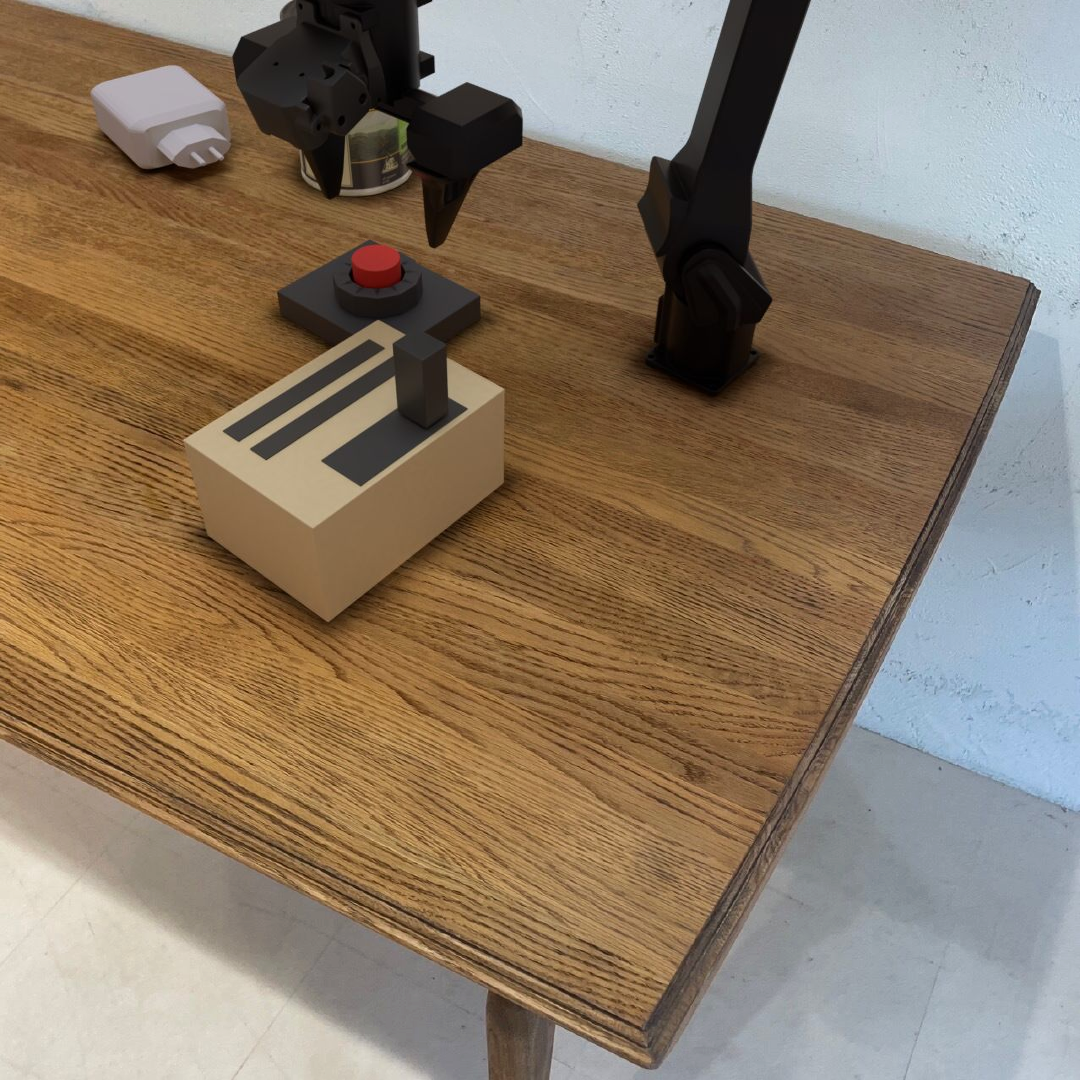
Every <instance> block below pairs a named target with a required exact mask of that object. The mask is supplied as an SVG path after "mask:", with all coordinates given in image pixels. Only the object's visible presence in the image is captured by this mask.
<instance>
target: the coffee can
mask: <svg viewBox="0 0 1080 1080" xmlns="http://www.w3.org/2000/svg"><path fill="white" fill-rule="evenodd" d="M293 15H294V16H297V11H296V0H289V1H288V2H287V3H285V5H284V6H283V7H281V10H280V11H279V21H281V20H283V19H286V18H288V17H291V16H293ZM408 124H409V123H407V122H404V121H402V120H399V119H397V118H395V117H392V116H390V115H387V114H385V113H383V112H380V111H378V110H375V109H370V110H369V112H368V113H367V114H366V115H365V116H364V117H363V118H362V119H361V120H360V121H359V123H358V124H357V125H356V126H355V127H354V128H353V129H352V130H351V131H350V132H349V133H348V134H347V135H346V136H345V154H344V170H343V178H342V184H341V191H340V194H339V195H338V197H339V196H340V197H366V196H367V197H368V196H375V195H379V194H380V195H381V194H383V193H385V192H389V191H392V190H394V189H396V188H398V187H399V186H401V185H403V184H405V182H407V181H408V180H409V178H410V177H411V175H412V174H413V172H412V171H411V170H410V169H408V168H407V167H406V163H408V162H410V161H412V160H413V158H412V157H413V156H412V154H411V152H410V150H409V149H408V147H407V135H406V128H407V126H408ZM298 151H299V159H300V173H301V176H302V178H303V180H304V181H305V183H307V184H308V185H309V186H310V187H312V188H313V189H316V190H318V191H320V192H322V191H321V189H320V187H319V185H318V183H317V180H316V178H315V176H314V174H313V172H312V170H311V168H310V166H309V164H308V162H307V160H306V158H305V155H304V153H303V151H302V150H300V149H298Z"/></svg>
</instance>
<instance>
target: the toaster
mask: <svg viewBox="0 0 1080 1080" xmlns="http://www.w3.org/2000/svg"><path fill="white" fill-rule="evenodd" d="M403 336H405V334H403V333H401V332H400V331H398V330H396V329H394V328H392V327H391V326H389V325H387V324H385V323H383V322H381V321H380V320H377V321H375V322H374V323H372V324H370V325H369V326H367V327H366V328H364V329H362V330H361V331H359V332H357V333H356V334H354V335H353V336H351V337H349V338H348V339H346V340H344V341H343V342H341V343H340V344H338V345H336V346H333V347H331V348H330V349H328V350H327V351H325V352H323V353H322V354H319V356H316V357H315V358H313V359H312V360H310V361H308V362H307V363H305V364H304V365H302V366H301V367H299V368H297V369H295V370H294V371H292V372H291V373H289V374H288V375H285V376H283V378H281V379H280V380H278V381H276V382H274V383H273V384H271V385H270V386H268V387H267V388H265V389H263V390H262V391H259V393H257V394H255V395H253V396H252V397H250V398H248V399H247V400H245V401H244V402H241V404H238V405H237V406H236V407H234V408H233V409H231V410H229V411H228V412H225V414H224V413H223V415H221V416H220V417H218V418H216V419H215V420H213V421H211V422H209V423H208V424H207V425H205V426H203V427H202V428H200V429H199V430H197V431H195V432H193V433H192V434H190V435H189V436H187V437H186V438H183V440H182V441H183V442H182V443H183V446H184V449H185V455H186V457H187V461H188V465H189V468H190V473H191V476H192V481H193V484H194V488H195V492H196V496H197V500H198V505H199V507H200V508H199V509H200V512H201V516H202V519H203V523H204V527H205V531H206V535H207V536H208V537H210V538H211V539H212V540H213V541H215V543H218V544H219V545H221V546H222V547H223V548H225V549H226V550H227V551H229V553H231V554H233V555H234V556H235V557H236V558H238V559H239V560H241V561H243V562H244V563H245V564H247V565H248V566H249V567H251V568H252V569H254V570H255V571H256V572H257V573H259V574H260V575H262V576H263V577H264V578H266V579H267V580H269V581H270V582H271V583H273V584H274V585H275V586H277V587H278V588H280V589H281V590H283V591H284V592H285V593H286V594H287V595H289V596H291V597H292V598H293V599H294V600H296V601H297V602H299V603H301V604H302V605H303V606H305V607H306V608H307V609H308V610H310V611H311V612H313V613H314V614H316V615H317V616H318V617H319V618H321V619H322V620H324V621H325V622H326V623H330V622H331V621H332V620H334V619H335V618H336V617H337V616H338V615H340V614H341V613H342V612H343V611H345V610H346V609H347V608H348V607H350V606H351V605H352V604H354V603H355V602H356V601H357V600H358V599H360V598H361V597H362V596H364V595H365V594H366V593H368V592H369V591H370V590H371V589H373V588H374V587H375V586H376V585H378V584H379V583H380V582H382V580H383V579H385V578H386V577H388V576H389V575H390V574H391V573H392V572H394V571H395V570H396V569H397V568H399V567H401V565H402V564H404V563H405V562H406V561H407V560H409V559H410V558H411V557H413V556H414V555H415V554H416V553H418V552H419V551H420V550H422V549H423V548H425V546H426V545H428V544H429V543H430V542H432V540H434V539H435V538H436V537H437V536H440V534H441V533H443V532H444V531H445V530H447V529H448V528H449V527H450V526H452V525H453V524H454V523H455V522H456V521H458V520H459V519H461V518H462V517H463V516H464V515H465V514H467V513H468V512H469V511H471V509H473V508H474V507H476V506H477V505H478V504H479V503H481V502H482V501H483V500H484V499H485V498H487V497H488V496H489V495H490V494H492V493H493V492H494V491H496V490H497V489H499V487H501V486H502V485H503V484H504V483H505V478H504V477H505V475H504V474H505V397H506V396H505V394H506V393H505V388H504V387H501V386H499V385H498V384H496V383H494V382H492V381H491V380H489V379H487V378H485V377H483V376H481V375H480V374H477V373H476V372H474V371H473V370H471V369H469V368H468V367H465V366H464V365H461V364H460V363H458V362H456V361H454V360H452V359H451V358H448V357H447V376H448V404H449V412H448V413H447V414H445V415H444V416H443V417H441V418H440V419H438V420H437V421H436V422H434V423H433V424H431V425H430V426H429V427H427V428H425V427H424V426H422V425H420V424H419V423H417V422H415V421H414V420H412V419H410V418H408V417H407V416H405V415H403V414H402V413H400V412H398V409H397V397H396V384H395V371H394V358H393V345H392V344H393V343H394V342H395V341H397V340H399V339H400V338H402V337H403Z"/></svg>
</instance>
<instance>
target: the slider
mask: <svg viewBox="0 0 1080 1080" xmlns="http://www.w3.org/2000/svg"><path fill="white" fill-rule="evenodd" d="M392 345H393V358H394V371H395V384H396V397H397V409H398V412H400V413H402V414H403V415H405V416H407V417H408V418H410V419H412V420H414V421H415V422H417V423H419V424H420V425H422V426H424V427H425V428H427V427H429V426H430V425H431V424H433V423H434V422H436V421H437V420H438V419H440V418H441V417H443V416H444V415H445V414H447V413H448V412H449V404H448V376H447V358H448V355H447V354H448V353H447V344H446V343H443V342H441V341H439V340H437V339H435V338H433V337H431V336H430V335H428V334H426V333H424V332H422V331H420V330H419V329H414V330H413V331H411V332H410V333H408V334H406V335H405V336H403V337H402V338H400V339H399V340H397V341H395V342H394V343H393V344H392Z"/></svg>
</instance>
